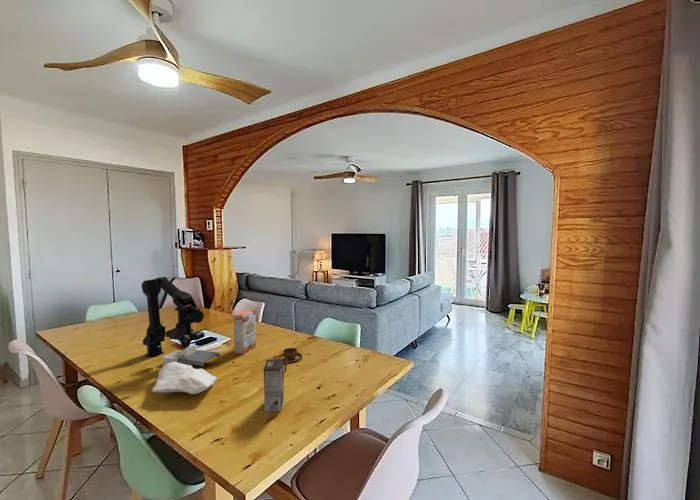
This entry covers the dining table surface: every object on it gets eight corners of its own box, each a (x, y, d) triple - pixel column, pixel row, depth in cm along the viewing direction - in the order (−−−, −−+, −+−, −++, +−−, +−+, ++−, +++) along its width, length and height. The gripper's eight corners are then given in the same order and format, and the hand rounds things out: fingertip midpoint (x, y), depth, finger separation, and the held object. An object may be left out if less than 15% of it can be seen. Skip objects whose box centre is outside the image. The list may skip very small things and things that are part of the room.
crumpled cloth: (167, 413, 120) (171, 387, 121) (134, 382, 143) (137, 360, 144) (228, 398, 138) (231, 375, 138) (190, 372, 161) (193, 353, 161)
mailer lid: (177, 362, 162) (176, 350, 161) (195, 353, 173) (194, 342, 172) (203, 365, 157) (202, 354, 157) (219, 356, 168) (219, 345, 168)
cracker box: (244, 354, 178) (243, 315, 176) (233, 354, 179) (232, 315, 177) (256, 345, 191) (256, 309, 190) (247, 344, 193) (246, 308, 191)
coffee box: (267, 399, 133) (266, 359, 131) (284, 398, 133) (283, 358, 132) (263, 412, 124) (262, 369, 122) (281, 411, 124) (280, 368, 123)
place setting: (311, 358, 174) (311, 347, 173) (286, 373, 156) (286, 361, 156) (284, 352, 182) (284, 342, 182) (258, 366, 165) (257, 354, 164)
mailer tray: (162, 364, 166) (162, 357, 165) (178, 356, 175) (178, 349, 175) (186, 368, 161) (185, 360, 161) (201, 360, 171) (201, 352, 171)
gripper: (155, 323, 161) (157, 355, 162) (187, 326, 156) (188, 359, 157) (174, 316, 172) (175, 347, 173) (204, 320, 166) (205, 351, 167)
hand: (185, 351), depth 167 cm, fingers closed
